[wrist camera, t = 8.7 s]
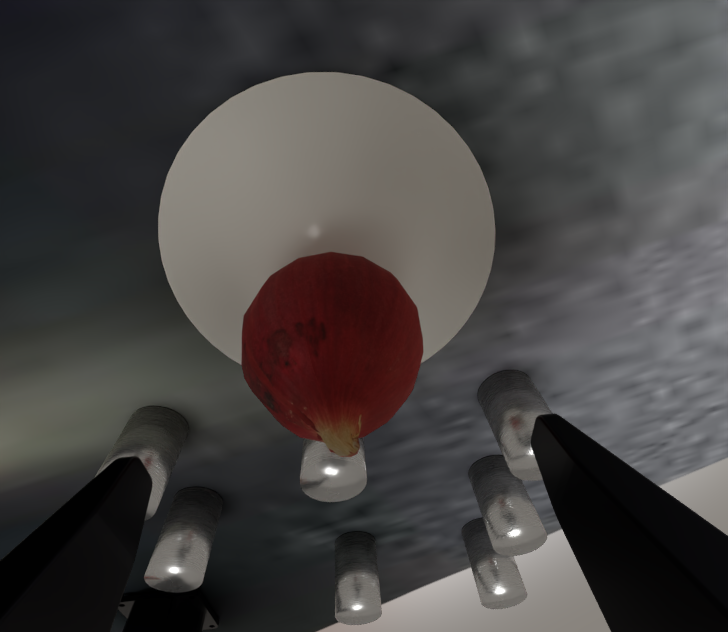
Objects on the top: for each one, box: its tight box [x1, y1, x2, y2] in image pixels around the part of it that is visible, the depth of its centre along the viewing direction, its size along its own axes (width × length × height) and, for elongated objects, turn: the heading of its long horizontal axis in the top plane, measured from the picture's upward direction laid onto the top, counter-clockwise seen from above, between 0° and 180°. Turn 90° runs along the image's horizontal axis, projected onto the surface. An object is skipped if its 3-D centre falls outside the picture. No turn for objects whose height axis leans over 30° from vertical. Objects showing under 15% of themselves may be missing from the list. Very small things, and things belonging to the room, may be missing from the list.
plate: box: [158, 72, 495, 365], centre depth 16 cm, size 13×13×1 cm
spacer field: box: [95, 370, 553, 625], centre depth 23 cm, size 17×22×4 cm
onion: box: [241, 252, 423, 457], centre depth 12 cm, size 6×6×8 cm
